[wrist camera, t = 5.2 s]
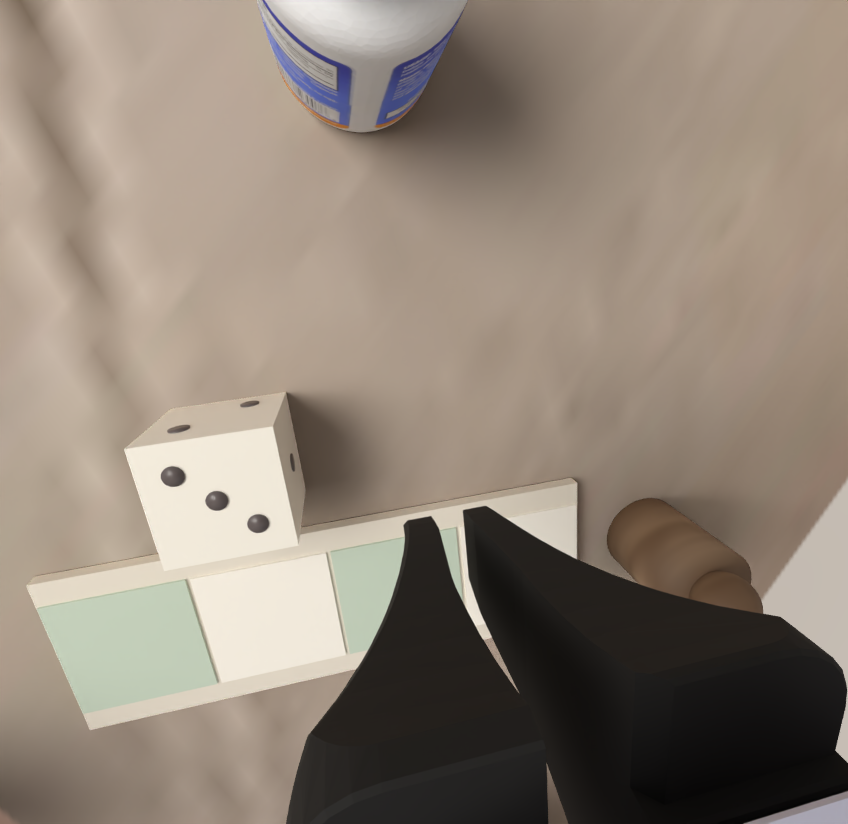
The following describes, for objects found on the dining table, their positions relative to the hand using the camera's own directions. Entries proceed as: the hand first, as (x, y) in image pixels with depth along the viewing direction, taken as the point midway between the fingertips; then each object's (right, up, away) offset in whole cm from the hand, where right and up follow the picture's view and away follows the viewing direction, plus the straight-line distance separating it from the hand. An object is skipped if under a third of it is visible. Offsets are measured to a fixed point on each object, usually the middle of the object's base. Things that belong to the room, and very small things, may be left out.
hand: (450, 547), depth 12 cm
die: (-8, +2, +8) cm, 12 cm away
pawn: (+11, -3, +13) cm, 17 cm away
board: (-5, -5, +11) cm, 13 cm away
